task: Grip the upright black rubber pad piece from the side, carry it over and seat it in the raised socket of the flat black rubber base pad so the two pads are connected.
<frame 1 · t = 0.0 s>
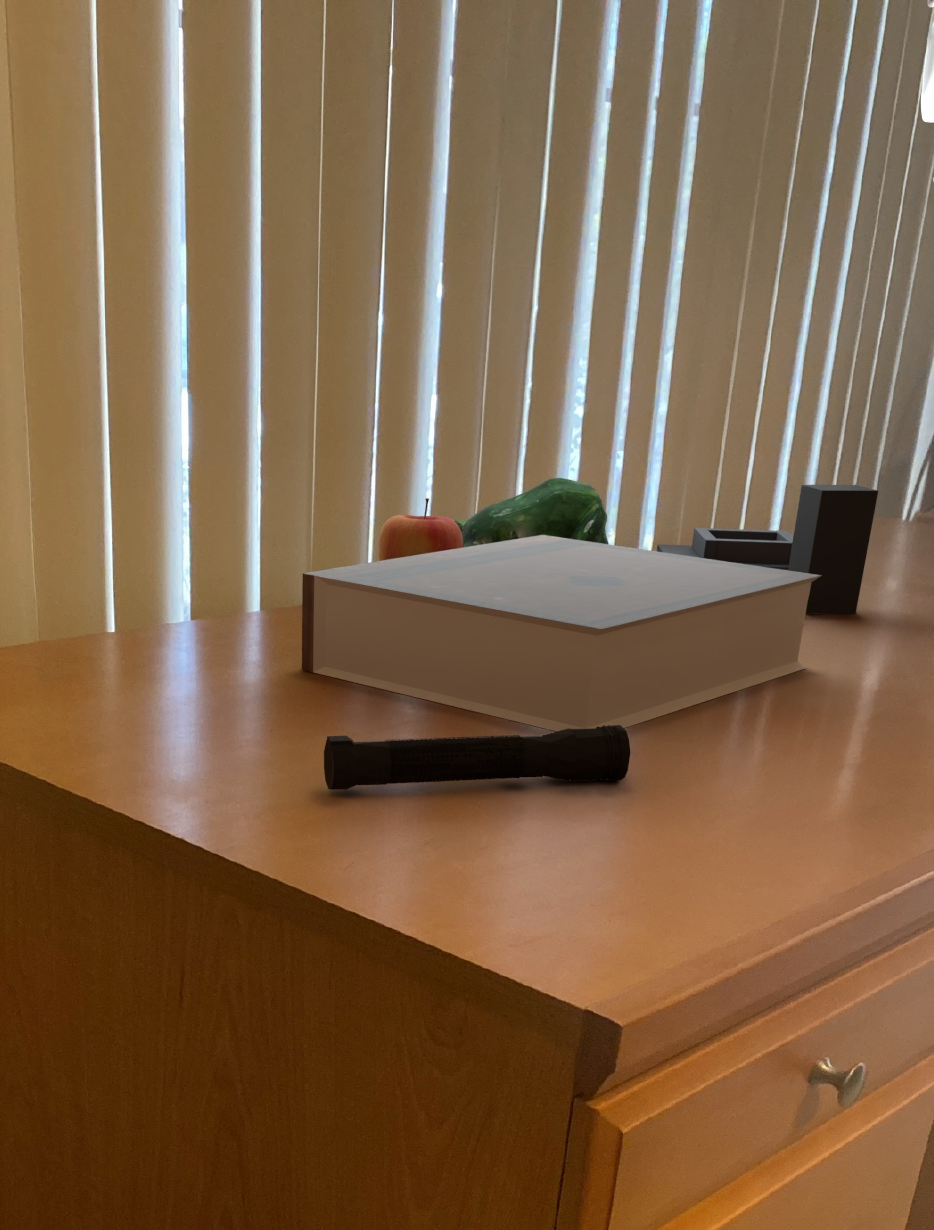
book: (558, 671, 105), on the table
base pad: (742, 566, 146), on the table
apple: (418, 598, 128), on the table
green pepper: (527, 579, 138), on the table
flashlight: (475, 789, 79), on the table
pad piece: (818, 609, 127), on the table
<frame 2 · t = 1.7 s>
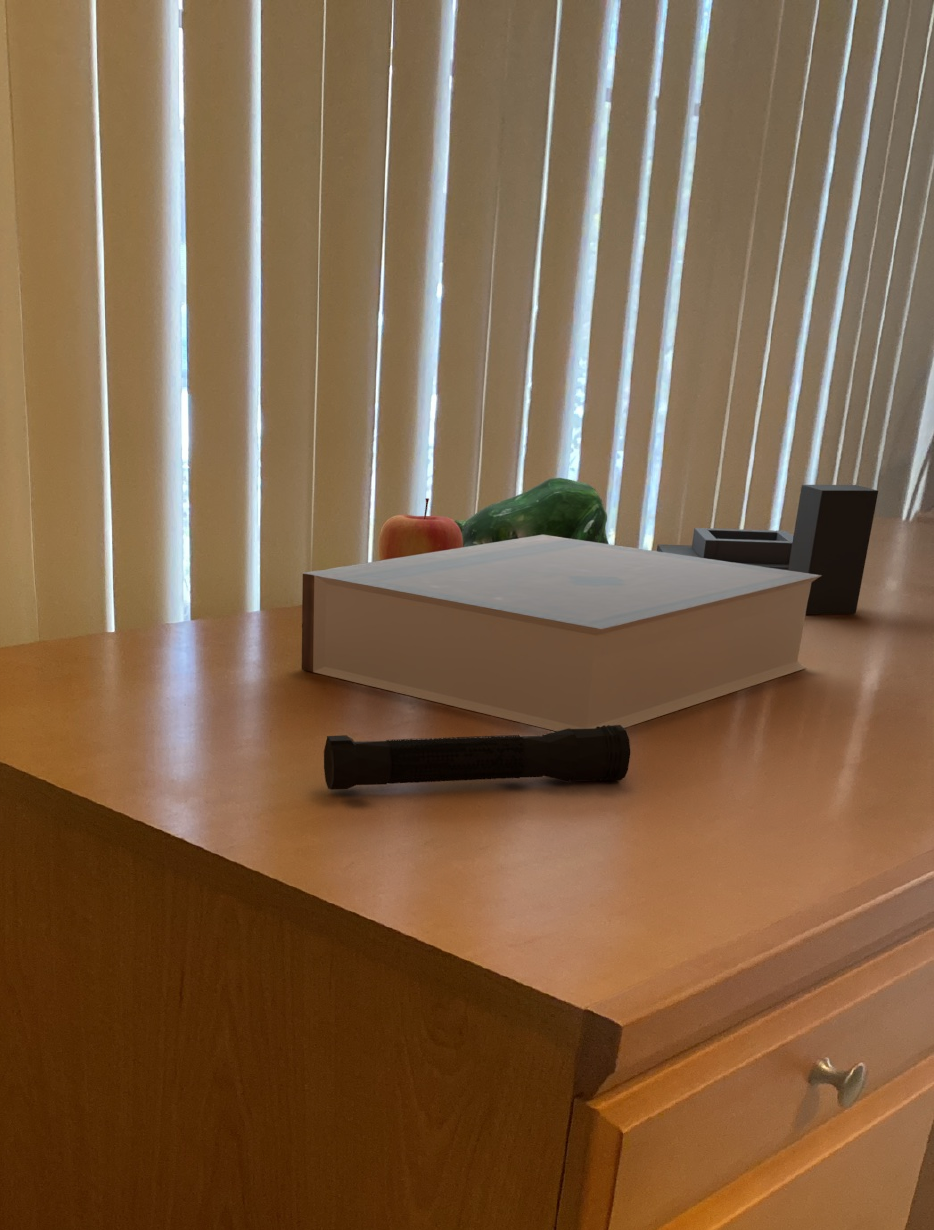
nothing on the table moved.
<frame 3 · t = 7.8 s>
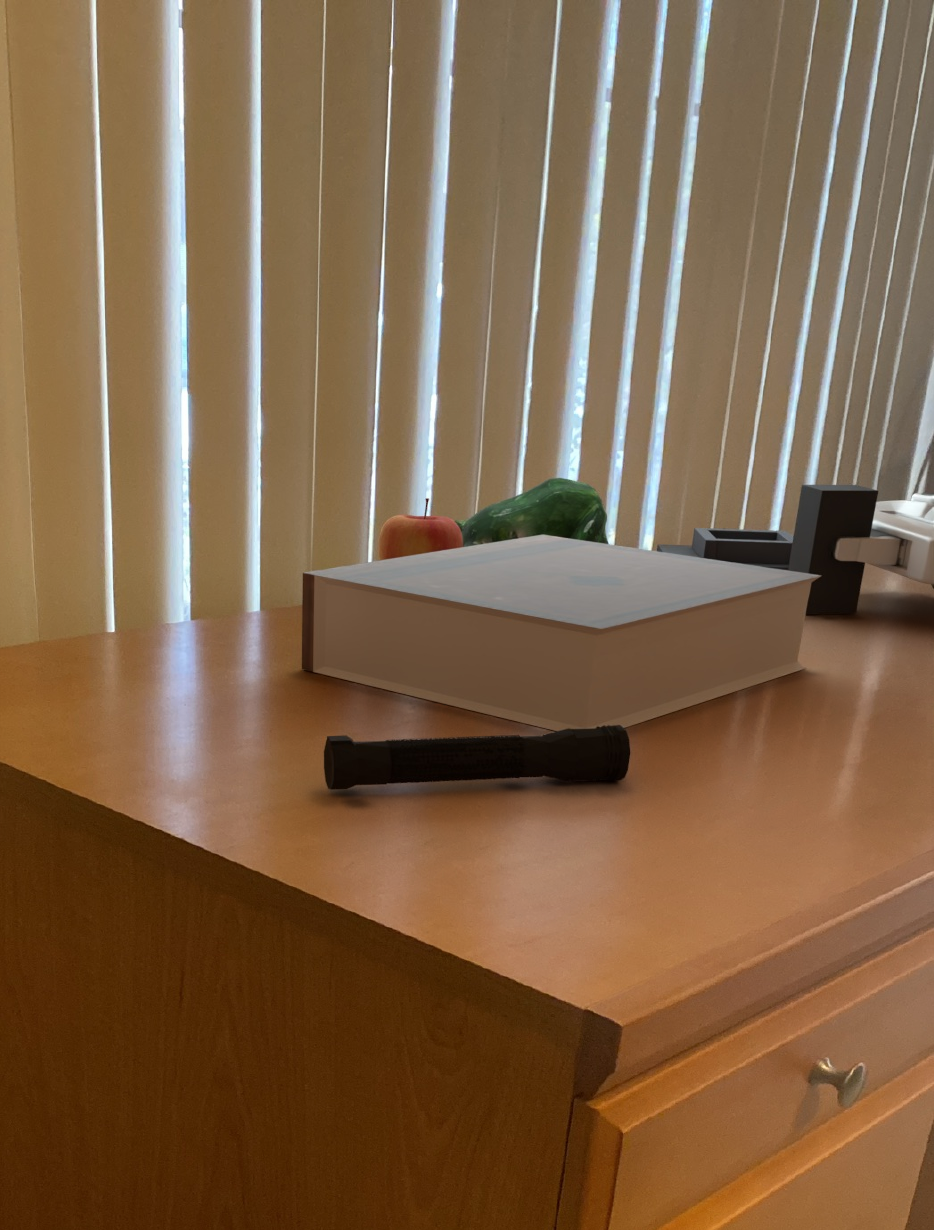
hand: (820, 543, 124), 6 cm above the table, tool horizontal, fingers closed on pad piece, 4 cm apart
pad piece: (818, 609, 127), on the table, touching gripper
everything else where it was.
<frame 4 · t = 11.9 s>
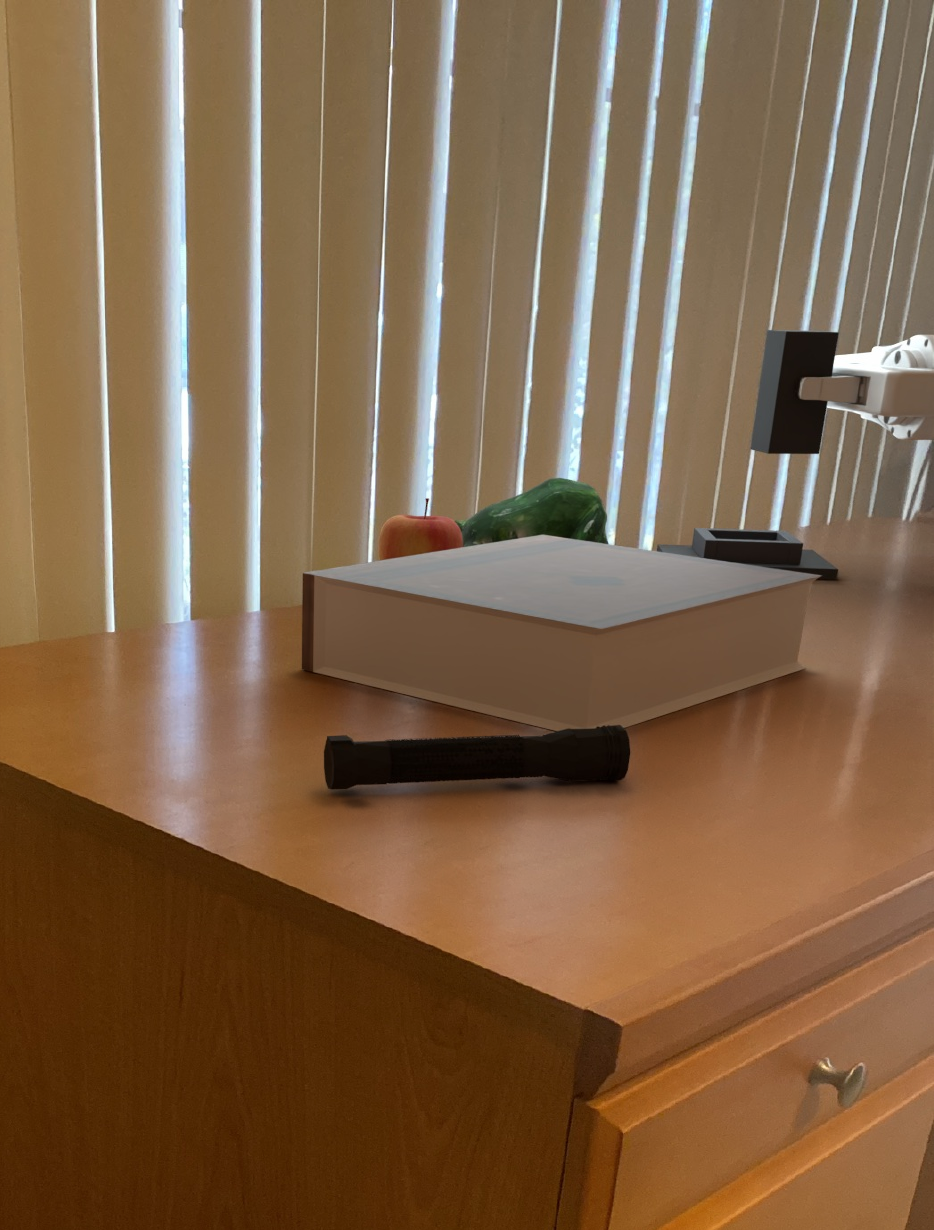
hand: (785, 386, 132), 17 cm above the table, tool horizontal, fingers closed on pad piece, 4 cm apart
pad piece: (784, 451, 134), point 11 cm above the table, touching gripper
everything else where it was.
when the fingers open (6 cm above the table, at t = 16.0 s): pad piece stays where it is, resting on base pad.
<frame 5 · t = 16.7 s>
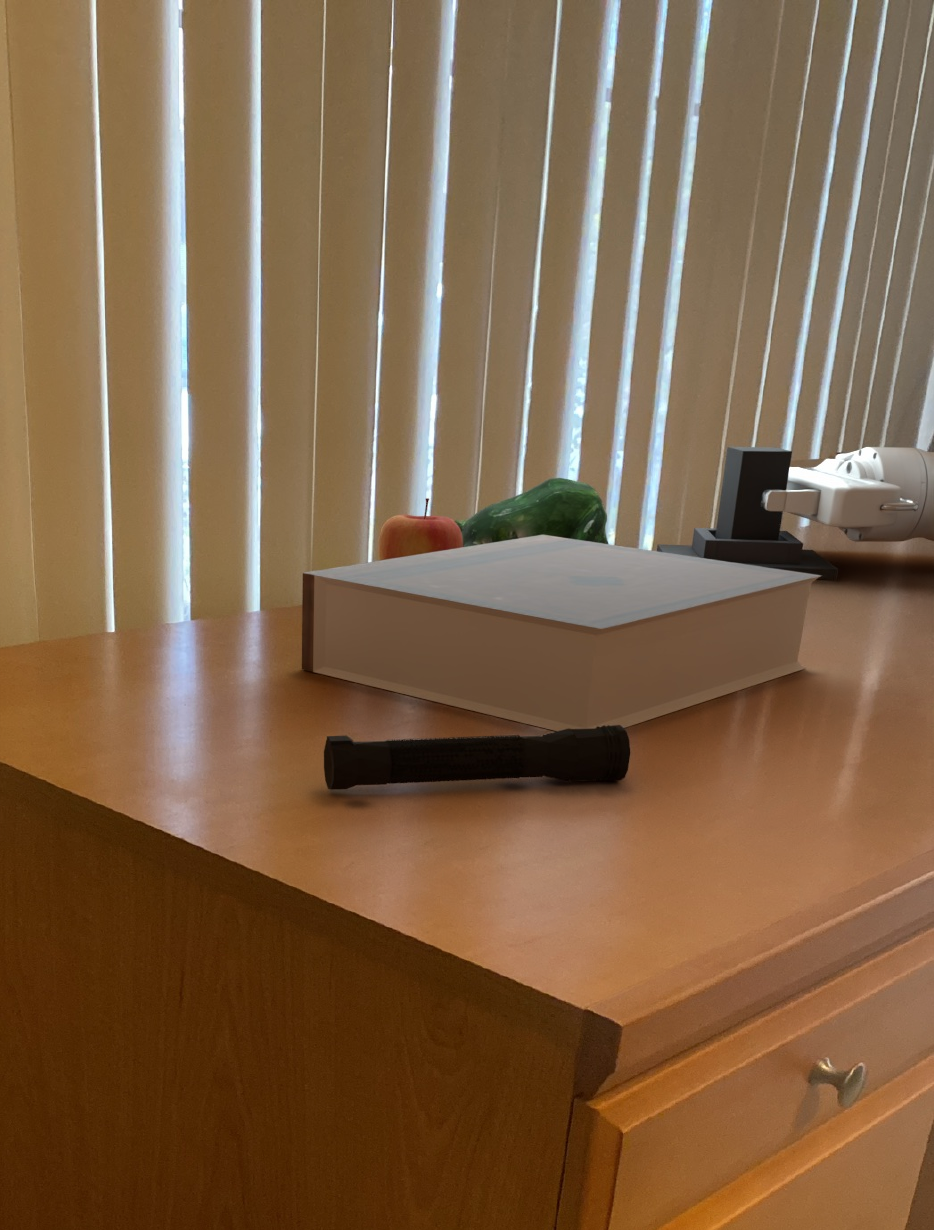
hand: (744, 494, 143), 7 cm above the table, tool horizontal, fingers open, 8 cm apart
pad piece: (743, 556, 146), point 1 cm above the table, touching base pad
everything else where it was.
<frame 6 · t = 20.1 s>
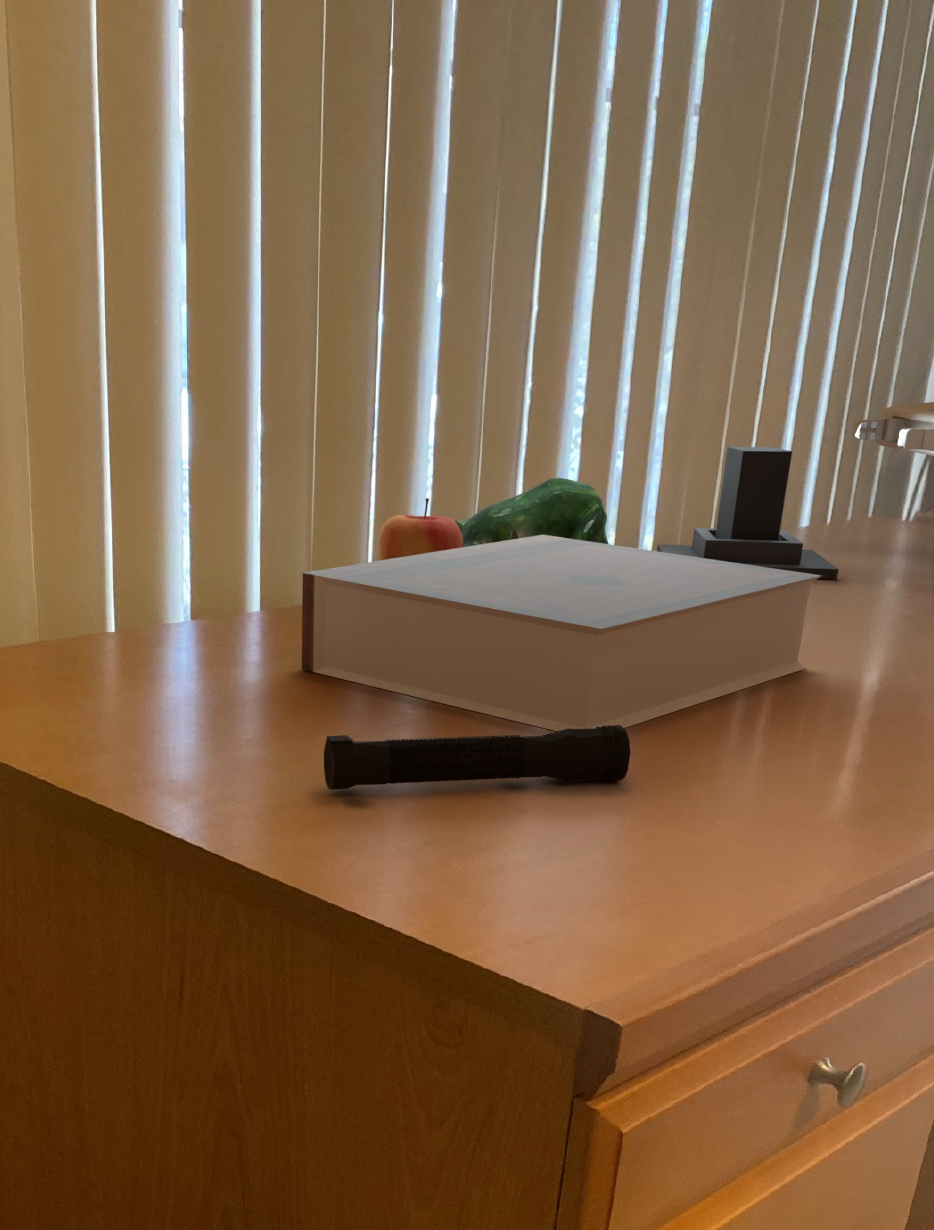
hand: (878, 433, 142), 12 cm above the table, tool horizontal, fingers open, 8 cm apart
nothing on the table moved.
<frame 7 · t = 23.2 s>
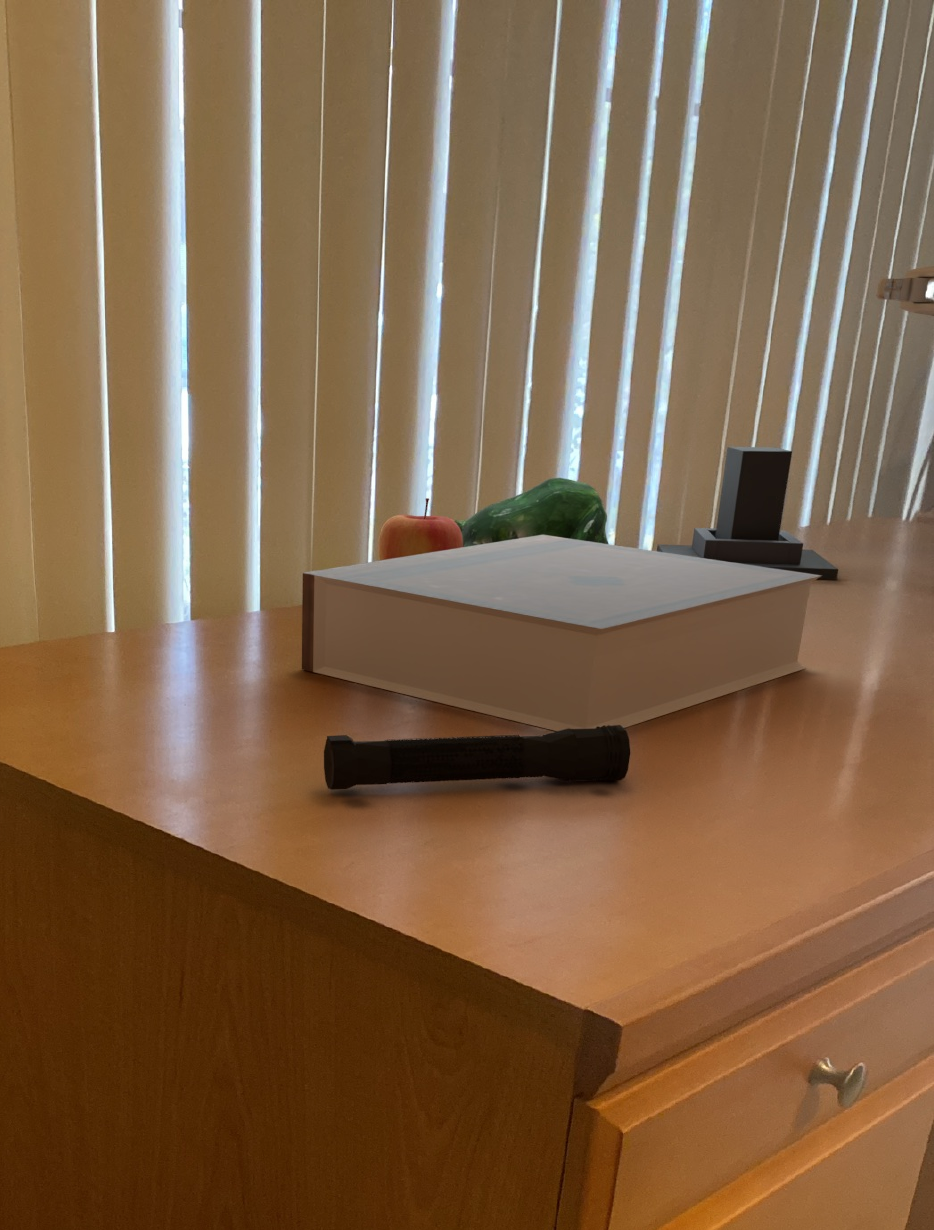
hand: (904, 289, 136), 25 cm above the table, tool horizontal, fingers open, 8 cm apart
nothing on the table moved.
at the end: pad piece 0.2 cm off-centre on the base pad, point 1.0 cm above the base pad's base; pad piece tilted 0°; the gripper is holding nothing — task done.
